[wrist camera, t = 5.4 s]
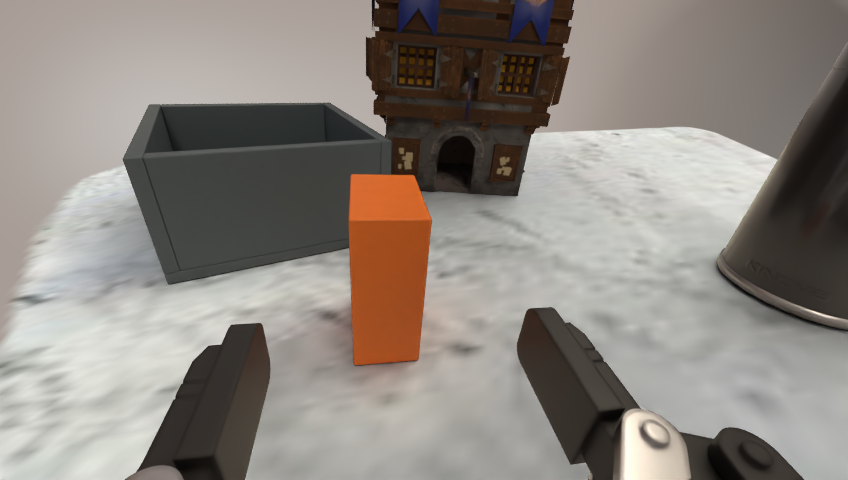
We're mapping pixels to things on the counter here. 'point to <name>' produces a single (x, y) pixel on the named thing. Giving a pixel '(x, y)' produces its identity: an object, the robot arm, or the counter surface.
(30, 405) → the counter surface
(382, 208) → the block
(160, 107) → the bin
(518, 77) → the miniature building
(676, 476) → the robot arm
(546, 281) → the counter surface
